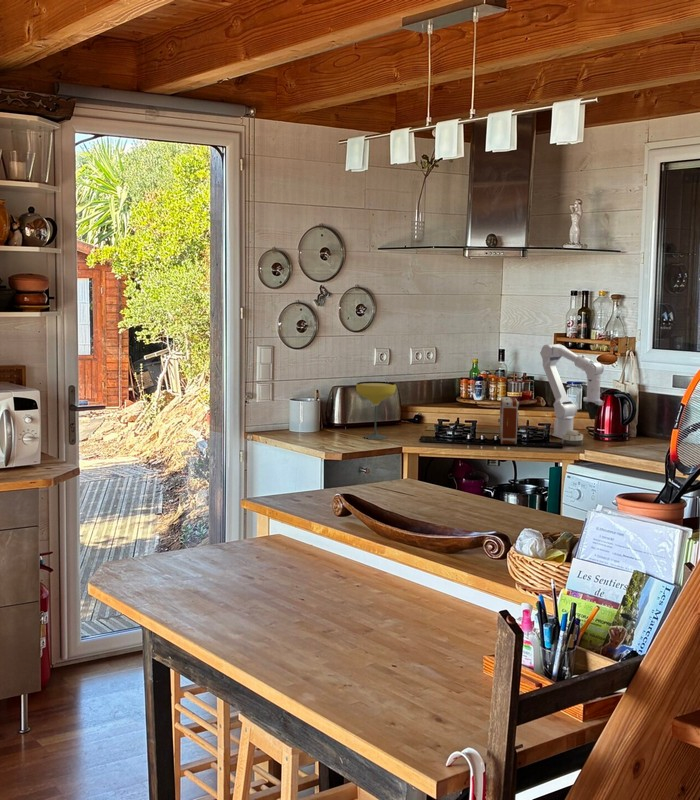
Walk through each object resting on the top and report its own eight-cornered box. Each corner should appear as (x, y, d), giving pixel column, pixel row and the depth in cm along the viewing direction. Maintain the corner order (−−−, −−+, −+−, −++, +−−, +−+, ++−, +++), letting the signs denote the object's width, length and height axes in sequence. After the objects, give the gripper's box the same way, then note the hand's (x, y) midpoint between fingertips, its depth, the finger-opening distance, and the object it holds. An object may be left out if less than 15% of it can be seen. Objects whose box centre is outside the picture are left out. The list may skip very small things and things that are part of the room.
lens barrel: (558, 442, 452) (558, 433, 452) (576, 442, 455) (577, 432, 454) (567, 446, 444) (568, 436, 443) (586, 445, 446) (586, 435, 445)
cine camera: (516, 438, 464) (518, 395, 461) (519, 445, 445) (520, 400, 442) (496, 437, 465) (497, 394, 462) (498, 445, 446) (499, 400, 443)
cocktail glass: (388, 433, 472) (389, 380, 469) (400, 440, 455) (400, 385, 452) (351, 435, 468) (351, 381, 464) (361, 441, 450) (362, 386, 447)
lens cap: (564, 438, 451) (565, 429, 450) (574, 437, 452) (575, 429, 451) (569, 440, 446) (570, 431, 445) (580, 439, 447) (580, 431, 446)
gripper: (577, 387, 459) (576, 417, 460) (593, 391, 445) (592, 421, 446) (591, 387, 460) (590, 416, 462) (607, 391, 446) (606, 421, 448)
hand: (592, 419), depth 454 cm, fingers closed
